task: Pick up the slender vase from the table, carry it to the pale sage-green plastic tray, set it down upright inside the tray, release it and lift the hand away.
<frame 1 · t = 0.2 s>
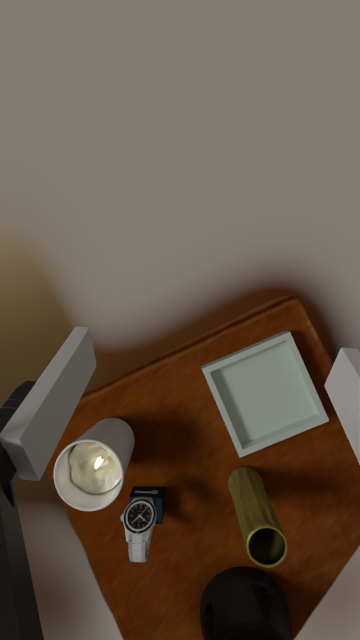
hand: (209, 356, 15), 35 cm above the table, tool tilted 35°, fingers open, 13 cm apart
watch: (148, 497, 50), on the table
candle holder: (112, 439, 51), on the table
tray: (260, 390, 50), on the table
vase: (244, 482, 50), on the table
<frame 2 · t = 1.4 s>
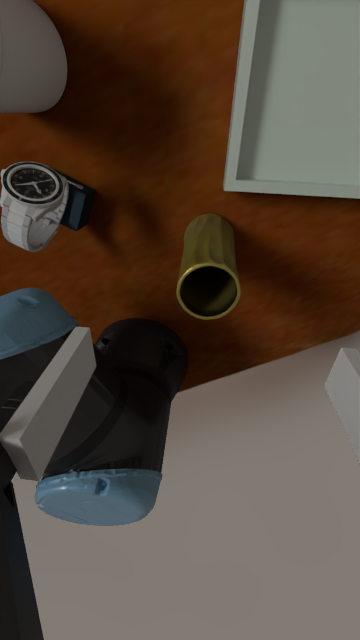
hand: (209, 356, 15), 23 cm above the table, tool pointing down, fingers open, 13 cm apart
watch: (69, 195, 33), on the table
candle holder: (26, 59, 27), on the table
tray: (319, 97, 26), on the table
vase: (208, 238, 35), on the table
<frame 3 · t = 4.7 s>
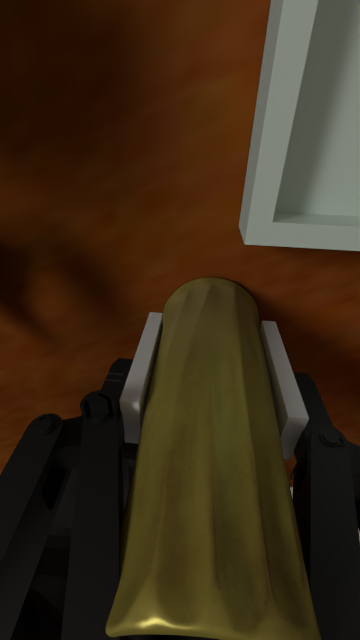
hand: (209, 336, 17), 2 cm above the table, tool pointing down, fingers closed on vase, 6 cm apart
vase: (210, 317, 18), on the table, touching gripper
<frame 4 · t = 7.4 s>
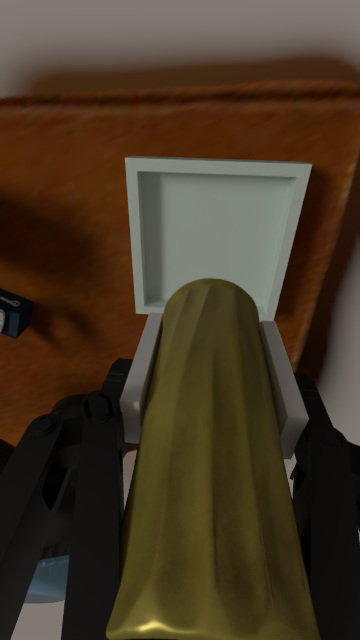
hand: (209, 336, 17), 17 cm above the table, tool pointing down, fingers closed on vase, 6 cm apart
watch: (11, 304, 38), on the table
tray: (209, 242, 31), on the table
vase: (210, 318, 18), point 15 cm above the table, touching gripper
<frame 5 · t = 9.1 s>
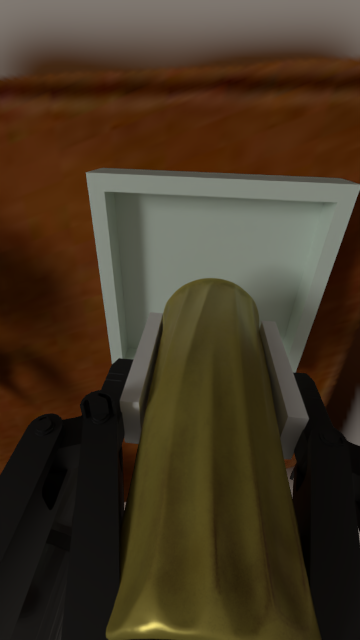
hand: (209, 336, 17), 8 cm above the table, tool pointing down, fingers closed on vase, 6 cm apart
tray: (208, 281, 23), on the table
vase: (210, 318, 18), point 6 cm above the table, touching gripper
when the fingers open (4 cm above the table, at t = 10.5 s): vase drops 1 cm, resting on tray.
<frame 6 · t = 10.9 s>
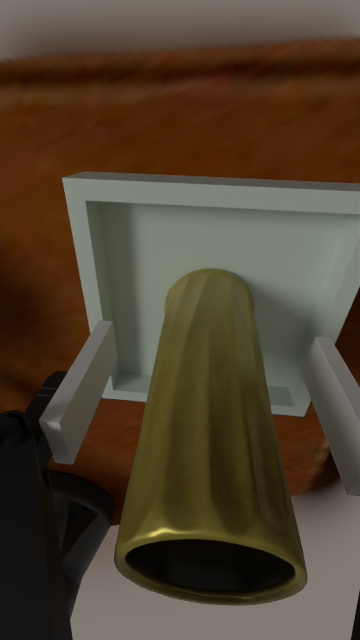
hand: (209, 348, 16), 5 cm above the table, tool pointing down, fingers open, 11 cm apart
tray: (209, 300, 20), on the table
vase: (208, 306, 20), point 1 cm above the table, touching tray
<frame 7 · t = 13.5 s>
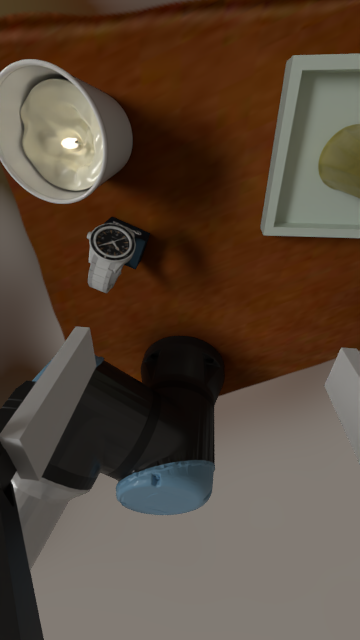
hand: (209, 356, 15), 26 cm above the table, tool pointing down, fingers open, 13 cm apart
watch: (127, 238, 39), on the table
candle holder: (98, 135, 33), on the table
tray: (345, 157, 31), on the table
vase: (347, 158, 30), point 1 cm above the table, touching tray
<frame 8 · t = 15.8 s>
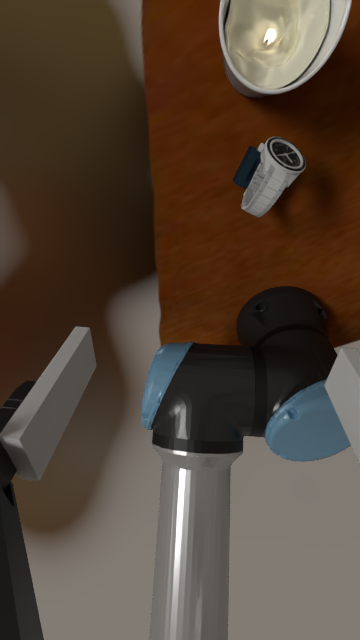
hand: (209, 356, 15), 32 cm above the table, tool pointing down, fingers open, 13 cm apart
watch: (258, 172, 38), on the table
candle holder: (260, 51, 31), on the table
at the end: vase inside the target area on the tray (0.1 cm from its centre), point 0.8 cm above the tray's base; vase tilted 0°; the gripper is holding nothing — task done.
